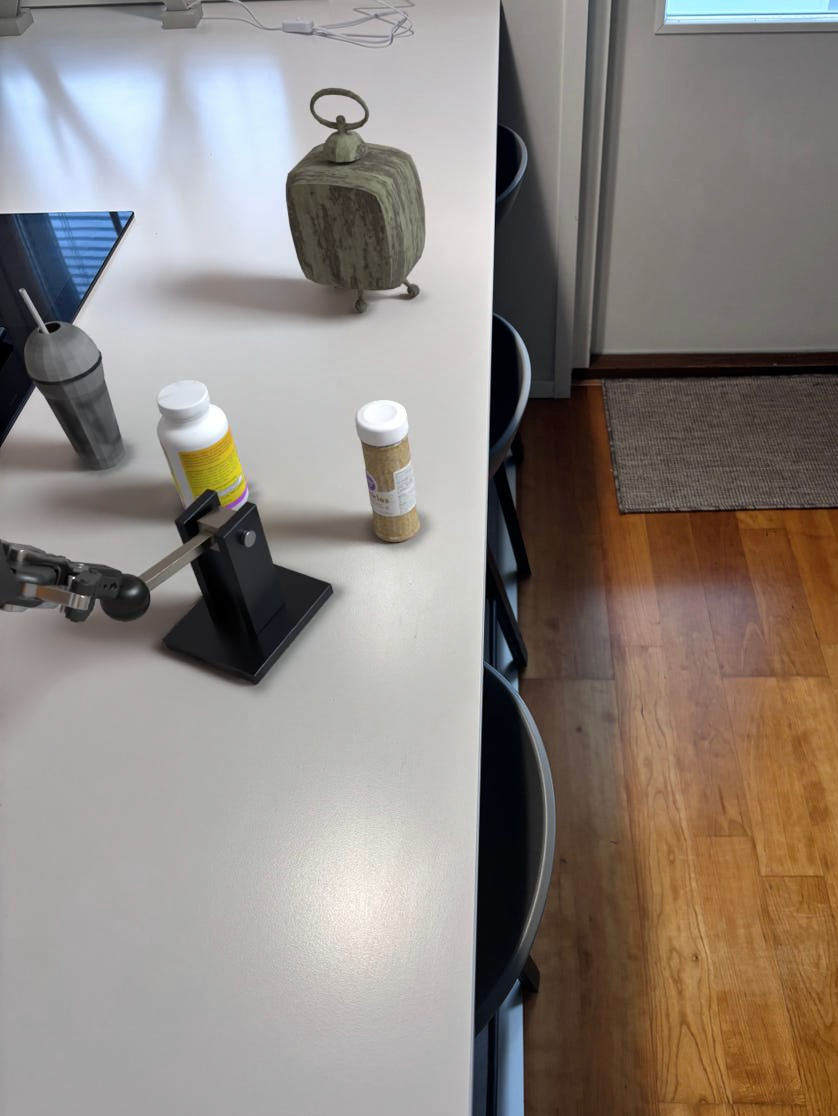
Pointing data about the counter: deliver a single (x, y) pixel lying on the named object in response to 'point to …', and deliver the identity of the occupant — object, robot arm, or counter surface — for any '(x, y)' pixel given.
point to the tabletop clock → (356, 210)
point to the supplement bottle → (199, 445)
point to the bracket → (242, 597)
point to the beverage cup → (74, 389)
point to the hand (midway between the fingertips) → (112, 582)
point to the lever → (164, 569)
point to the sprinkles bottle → (388, 469)
